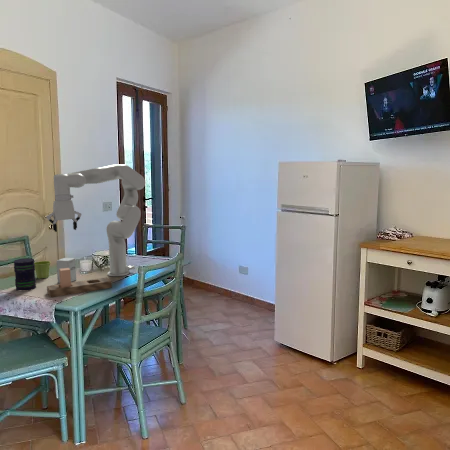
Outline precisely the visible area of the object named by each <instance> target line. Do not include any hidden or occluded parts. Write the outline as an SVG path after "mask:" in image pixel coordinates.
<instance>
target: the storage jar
mask: <svg viewBox="0 0 450 450" xmlns="http://www.w3.org/2000/svg"><path fill="white" fill-rule="evenodd" d="M34 263H35V259H34V258H30V257H28V258H27V257H26V258H19V259H15V260H14V261H13V270H14V271H13V272H14V274H15V275H14V277H15V278H14V281H15V283H14V284H15V290H16V291H17V290H28V291H32V290H35V289H36V288H37V284H36V283H37V279H36V274H35V273H36V270H35V264H34ZM31 289H32V290H31Z"/></svg>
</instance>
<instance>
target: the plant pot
mask: <svg viewBox="0 0 450 450" xmlns="http://www.w3.org/2000/svg"><path fill="white" fill-rule="evenodd" d="M51 263H52V262H51V261H49V260H41V261H36V262H35V261H34V264H35V273H36V274H35V276H36V277H37V279H43V278H44V279H48V278H49V277H50V267H51V266H50V265H51Z"/></svg>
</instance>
